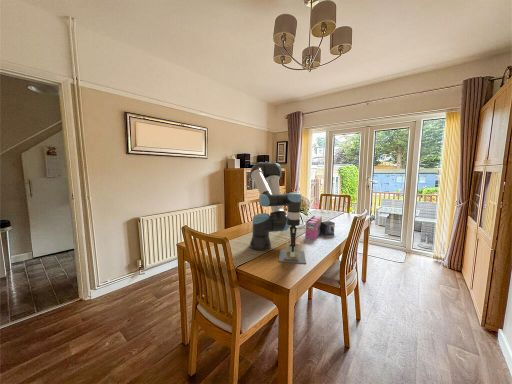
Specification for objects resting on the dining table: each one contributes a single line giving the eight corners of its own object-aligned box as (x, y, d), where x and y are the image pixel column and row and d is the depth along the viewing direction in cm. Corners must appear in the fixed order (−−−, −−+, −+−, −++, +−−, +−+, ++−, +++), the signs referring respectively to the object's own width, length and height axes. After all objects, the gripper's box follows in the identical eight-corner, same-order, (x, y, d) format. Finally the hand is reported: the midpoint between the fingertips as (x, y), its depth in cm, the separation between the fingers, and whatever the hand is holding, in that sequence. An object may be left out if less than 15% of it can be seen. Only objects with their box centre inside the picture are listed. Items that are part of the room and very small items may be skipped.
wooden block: (285, 258, 131) (286, 243, 130) (285, 257, 134) (286, 241, 133) (299, 259, 130) (299, 244, 129) (298, 257, 133) (299, 242, 132)
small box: (325, 236, 177) (325, 224, 175) (319, 234, 182) (320, 222, 181) (334, 234, 181) (335, 222, 180) (328, 232, 187) (329, 220, 186)
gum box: (312, 230, 193) (313, 215, 191) (321, 231, 189) (322, 216, 187) (304, 238, 172) (305, 221, 170) (314, 239, 168) (315, 223, 166)
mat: (278, 261, 129) (278, 260, 128) (280, 250, 146) (280, 249, 146) (306, 264, 126) (306, 263, 126) (303, 251, 144) (303, 251, 144)
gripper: (301, 224, 116) (299, 261, 119) (299, 213, 141) (297, 244, 144) (287, 223, 117) (285, 260, 120) (287, 213, 142) (286, 244, 145)
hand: (292, 251), depth 132 cm, fingers open, 13 cm apart
